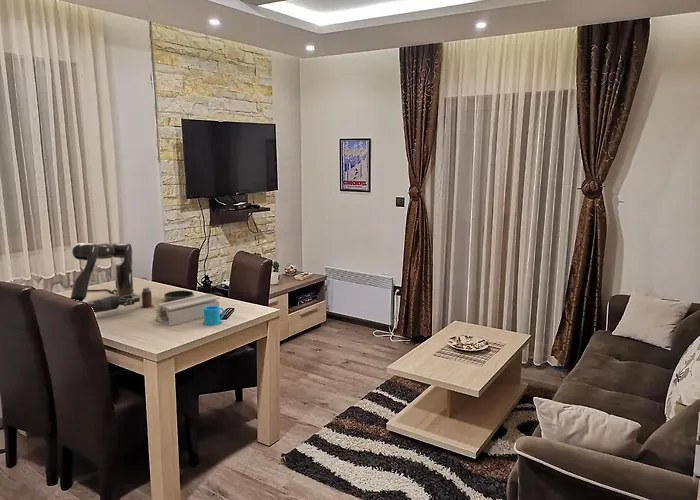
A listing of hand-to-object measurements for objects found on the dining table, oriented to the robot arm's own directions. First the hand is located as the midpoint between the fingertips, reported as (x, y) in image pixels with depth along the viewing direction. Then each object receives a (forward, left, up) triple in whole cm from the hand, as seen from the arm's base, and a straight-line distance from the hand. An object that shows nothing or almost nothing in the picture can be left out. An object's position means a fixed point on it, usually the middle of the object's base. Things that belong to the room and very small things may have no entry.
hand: (135, 298), depth 287 cm
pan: (+8, +26, -7) cm, 28 cm away
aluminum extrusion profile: (+36, +2, -7) cm, 36 cm away
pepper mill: (+2, +6, -7) cm, 9 cm away
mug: (+55, +1, -7) cm, 55 cm away
